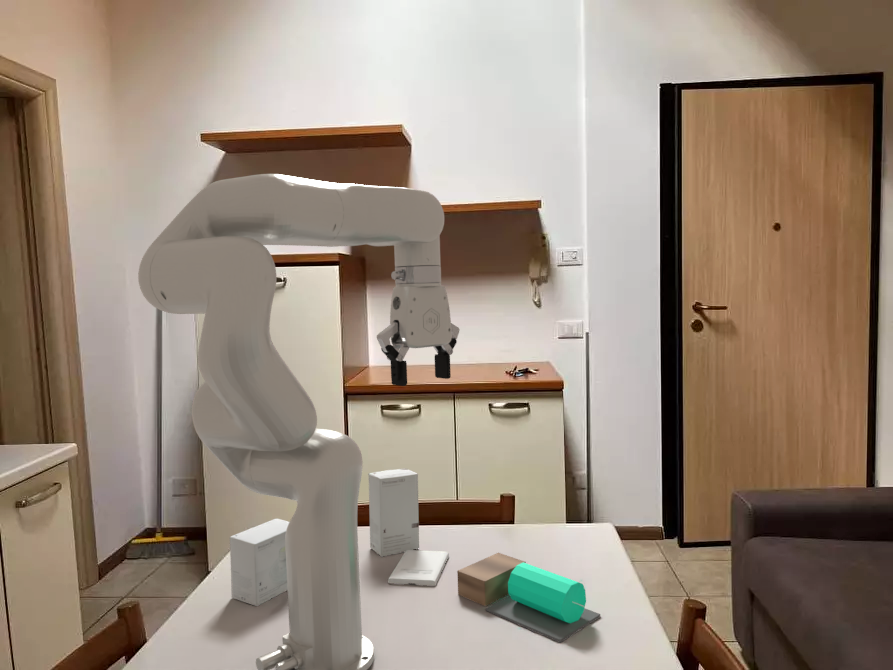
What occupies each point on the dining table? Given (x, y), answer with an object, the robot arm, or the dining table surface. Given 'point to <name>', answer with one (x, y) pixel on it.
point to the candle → (547, 592)
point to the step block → (487, 578)
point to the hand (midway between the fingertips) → (421, 381)
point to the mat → (540, 619)
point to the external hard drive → (419, 567)
